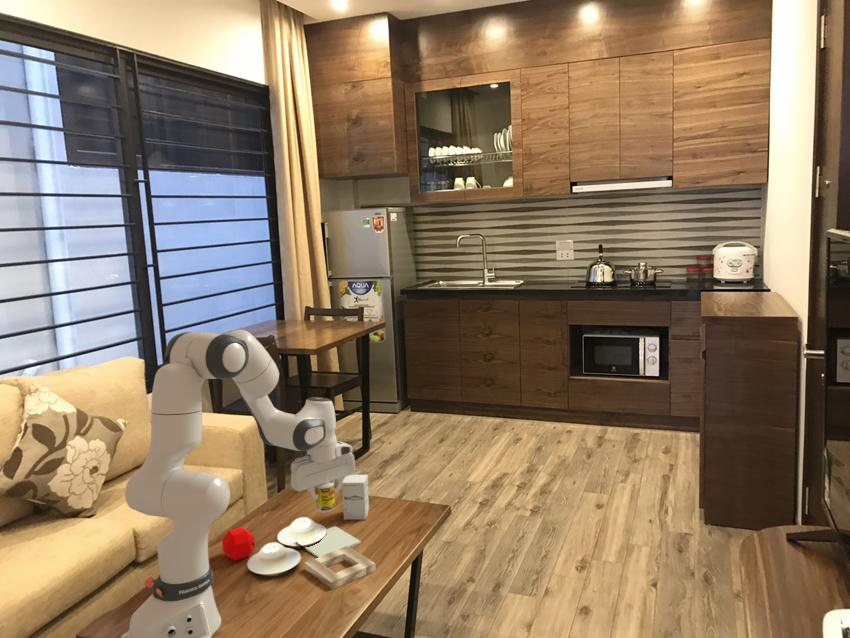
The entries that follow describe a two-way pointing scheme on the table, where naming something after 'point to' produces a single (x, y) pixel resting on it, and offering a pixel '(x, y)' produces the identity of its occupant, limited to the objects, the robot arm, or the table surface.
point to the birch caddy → (335, 580)
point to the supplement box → (355, 497)
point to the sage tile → (333, 542)
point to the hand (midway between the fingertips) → (325, 496)
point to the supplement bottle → (325, 496)
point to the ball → (238, 543)
